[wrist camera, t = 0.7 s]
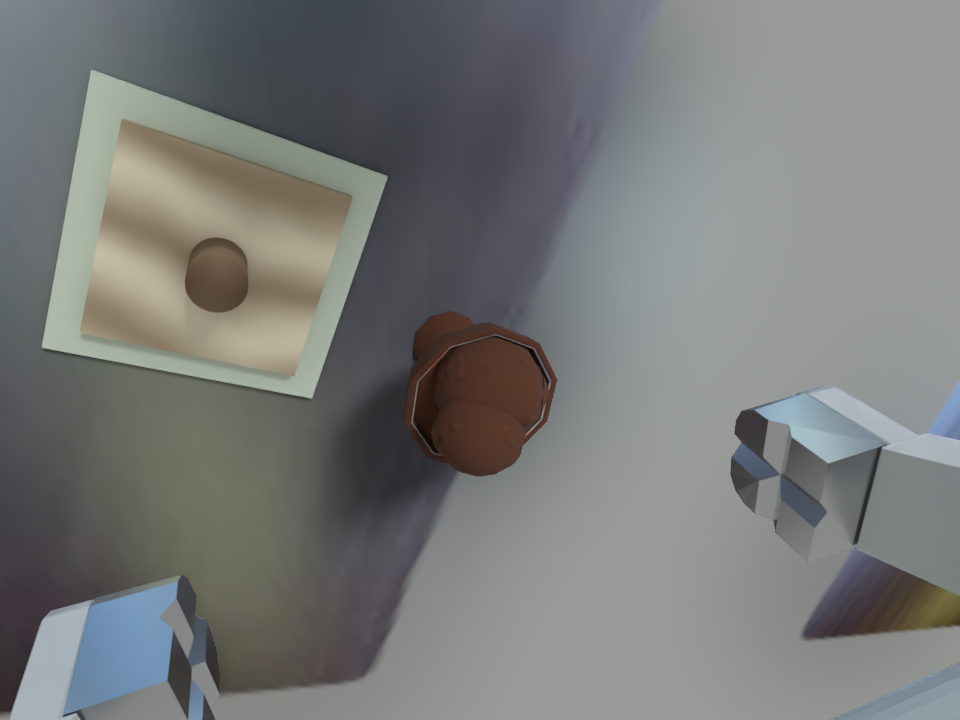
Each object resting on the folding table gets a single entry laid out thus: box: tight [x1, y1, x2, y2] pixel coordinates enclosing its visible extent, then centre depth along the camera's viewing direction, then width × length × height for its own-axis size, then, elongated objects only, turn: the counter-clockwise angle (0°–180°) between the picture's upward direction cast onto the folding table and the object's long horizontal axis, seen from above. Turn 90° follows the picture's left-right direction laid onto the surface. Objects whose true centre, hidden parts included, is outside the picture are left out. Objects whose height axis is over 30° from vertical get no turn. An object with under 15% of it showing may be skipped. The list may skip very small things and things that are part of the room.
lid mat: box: [42, 70, 388, 399], centre depth 44 cm, size 18×18×1 cm
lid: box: [79, 118, 353, 376], centre depth 42 cm, size 14×14×5 cm
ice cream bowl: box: [404, 312, 557, 476], centre depth 46 cm, size 11×11×15 cm
